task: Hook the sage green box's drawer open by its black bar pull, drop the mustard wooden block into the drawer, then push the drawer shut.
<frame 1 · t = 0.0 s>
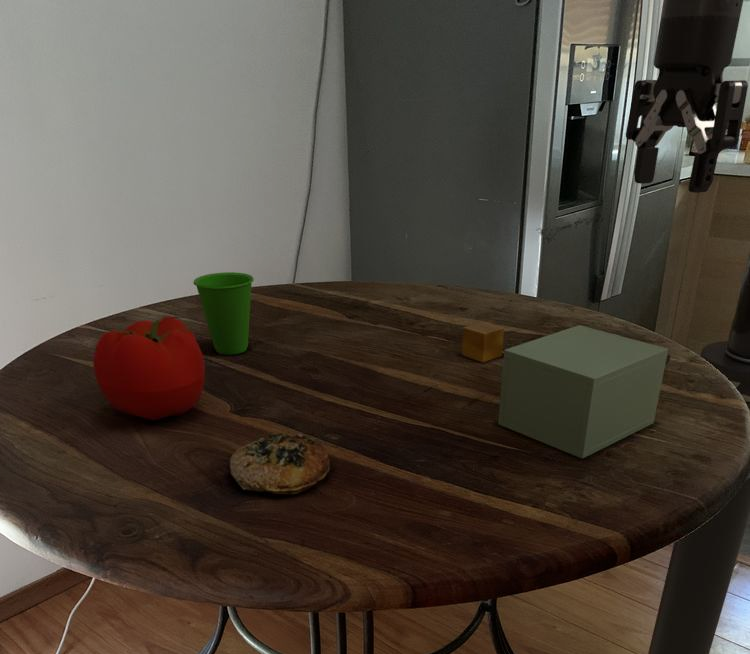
hand: (669, 187, 82), 26 cm above the table, tool pointing down, fingers open, 8 cm apart
drawer: (604, 377, 91), point 5 cm above the table, slide at 0.0 cm, touching sage green box
tomato: (159, 411, 96), on the table
block: (481, 355, 113), on the table
sage green box: (575, 423, 91), on the table
bread roll: (280, 475, 81), on the table
cup: (231, 350, 117), on the table
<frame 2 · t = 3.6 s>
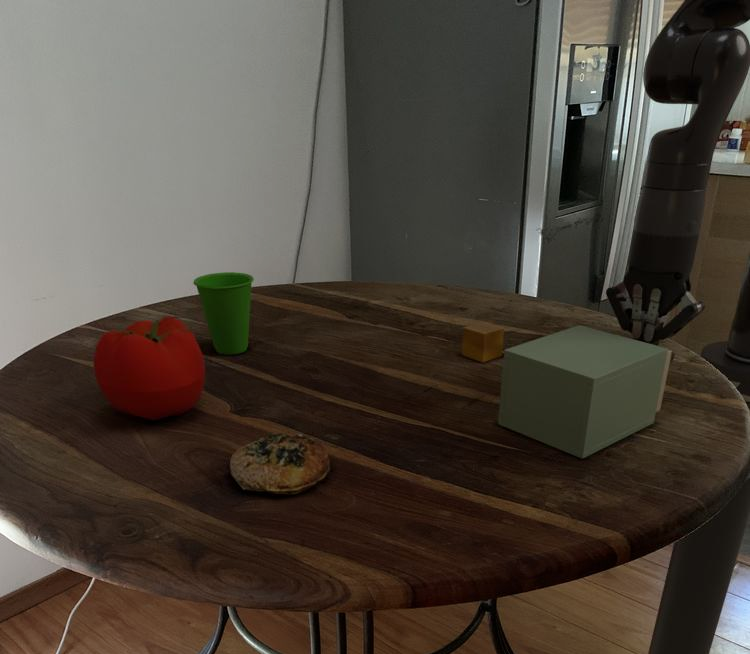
hand: (641, 366, 96), 4 cm above the table, tool pointing down, fingers closed
drawer: (609, 375, 92), point 5 cm above the table, slide at 1.0 cm, touching gripper
everything else where it was.
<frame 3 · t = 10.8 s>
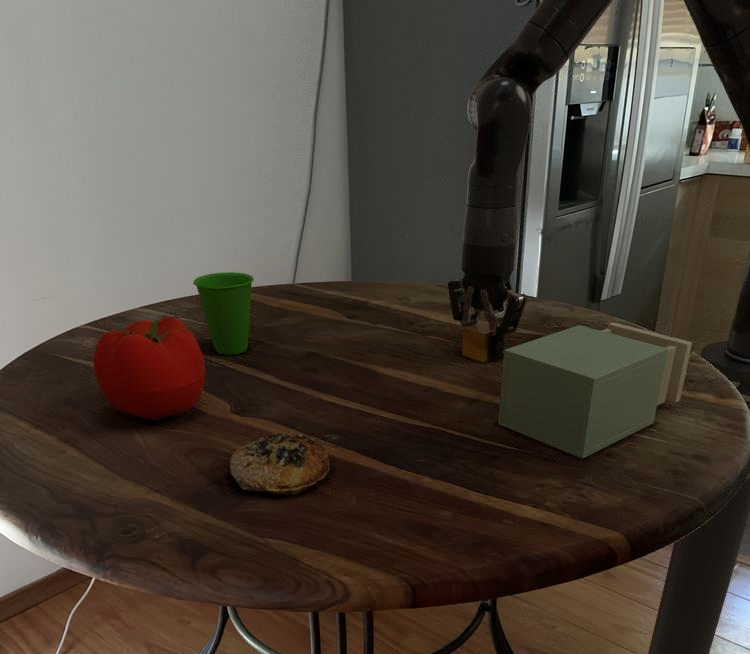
hand: (481, 353, 113), 0 cm above the table, tool pointing down, fingers closed on block, 4 cm apart
drawer: (630, 367, 94), point 5 cm above the table, slide at 5.7 cm
block: (481, 355, 113), on the table, touching gripper
everything else where it was.
when the fingers open (8 cm above the table, at t = 16.5 s): block drops 6 cm, resting on drawer.
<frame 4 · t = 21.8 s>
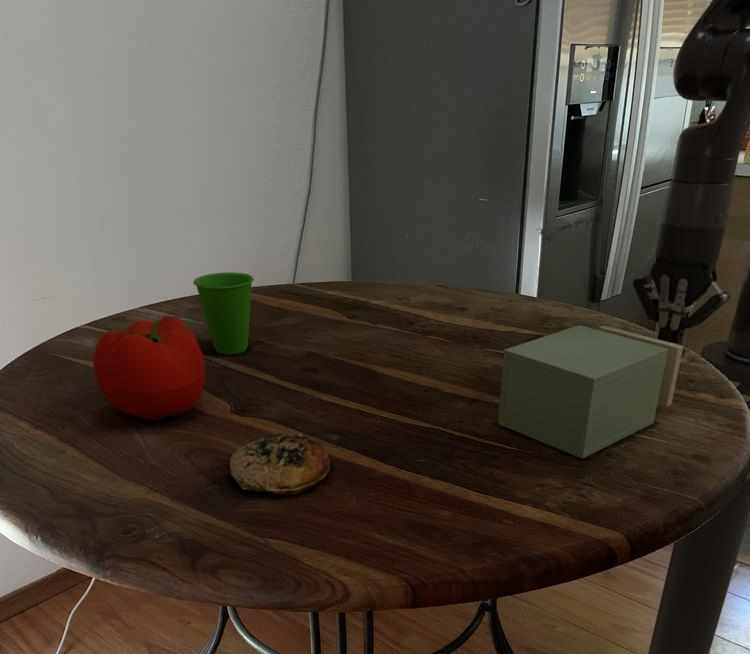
hand: (666, 354, 100), 4 cm above the table, tool pointing down, fingers closed
drawer: (621, 371, 93), point 5 cm above the table, slide at 3.6 cm, touching block, gripper
block: (618, 391, 95), point 2 cm above the table, touching drawer
everything else where it was.
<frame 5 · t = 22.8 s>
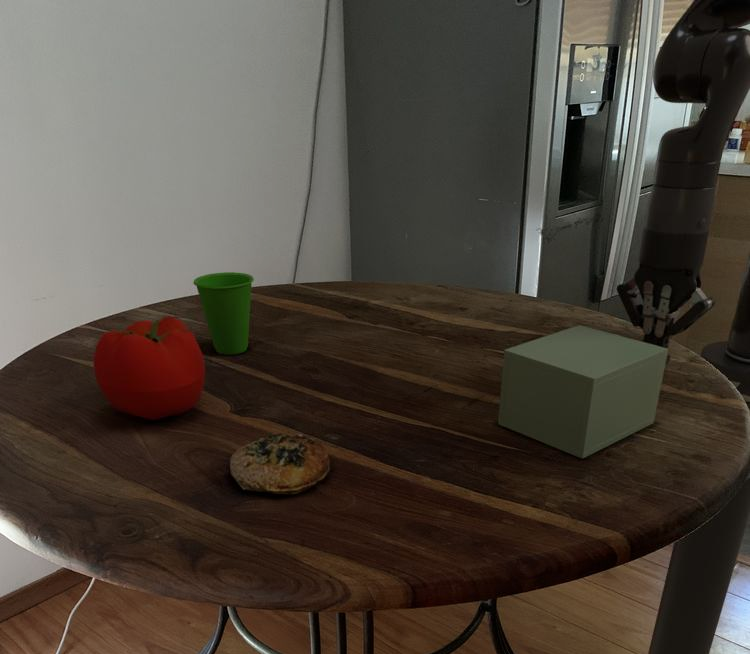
hand: (652, 361, 98), 4 cm above the table, tool pointing down, fingers closed
drawer: (604, 377, 91), point 5 cm above the table, slide at 0.0 cm, touching block, sage green box, gripper
block: (602, 398, 93), point 2 cm above the table, touching drawer
everything else where it was.
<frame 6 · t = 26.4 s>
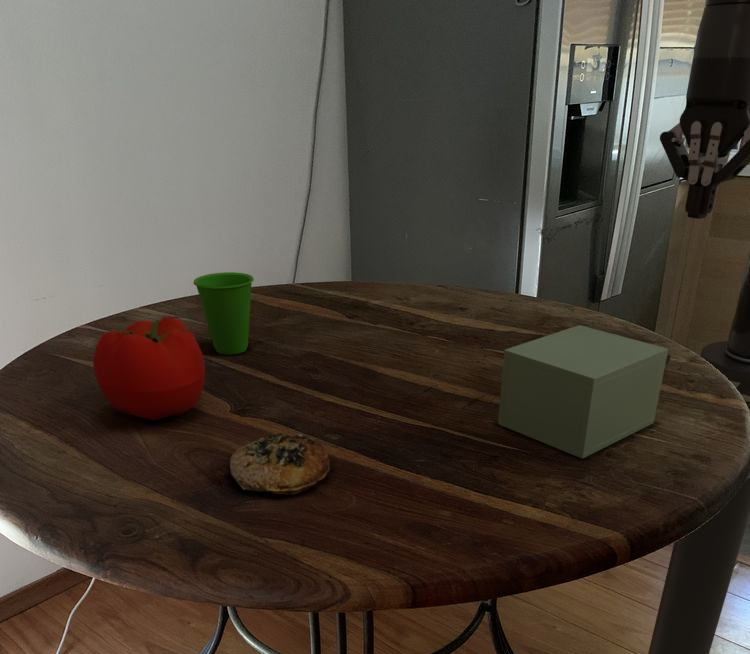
hand: (696, 217, 91), 22 cm above the table, tool pointing down, fingers closed
drawer: (604, 377, 91), point 5 cm above the table, slide at 0.0 cm, touching block, sage green box
everything else where it was.
at the end: drawer pulled out 5.7 cm at the most during the clip, back to where it started at the end; block inside the target area in the sage green box (5.0 cm from its centre), point 2.0 cm above the sage green box's base; drawer slide at 0.0 cm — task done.
